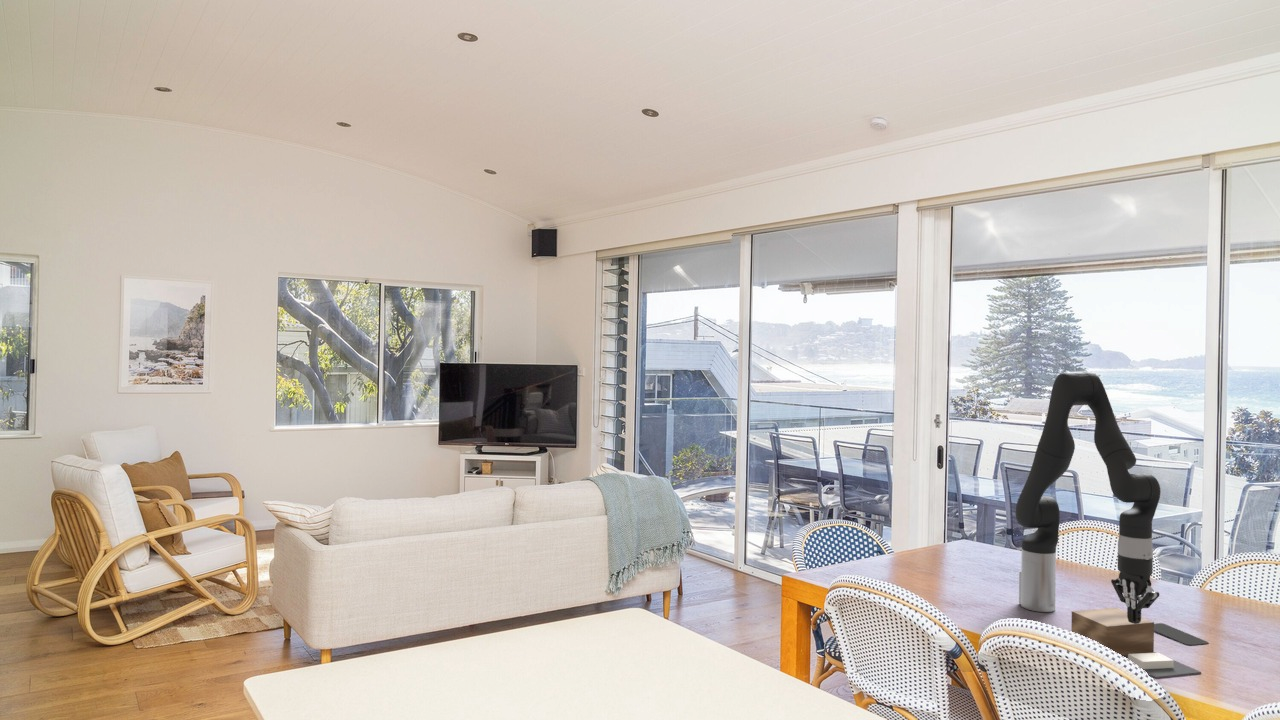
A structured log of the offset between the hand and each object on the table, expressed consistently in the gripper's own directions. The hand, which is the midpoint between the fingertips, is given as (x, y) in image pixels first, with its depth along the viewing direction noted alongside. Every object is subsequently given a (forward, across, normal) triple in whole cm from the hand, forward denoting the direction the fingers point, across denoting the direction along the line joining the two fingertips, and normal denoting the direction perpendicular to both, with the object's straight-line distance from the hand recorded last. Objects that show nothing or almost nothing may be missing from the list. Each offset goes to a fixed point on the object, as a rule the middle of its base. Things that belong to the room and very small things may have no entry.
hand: (1134, 622), depth 204 cm
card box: (+6, +6, -1) cm, 9 cm away
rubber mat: (+9, +6, +1) cm, 10 cm away
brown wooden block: (+9, -7, 0) cm, 11 cm away
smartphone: (+9, -11, +24) cm, 28 cm away
